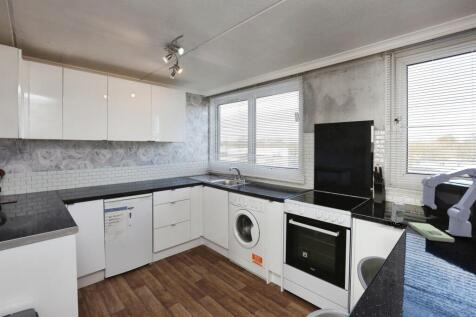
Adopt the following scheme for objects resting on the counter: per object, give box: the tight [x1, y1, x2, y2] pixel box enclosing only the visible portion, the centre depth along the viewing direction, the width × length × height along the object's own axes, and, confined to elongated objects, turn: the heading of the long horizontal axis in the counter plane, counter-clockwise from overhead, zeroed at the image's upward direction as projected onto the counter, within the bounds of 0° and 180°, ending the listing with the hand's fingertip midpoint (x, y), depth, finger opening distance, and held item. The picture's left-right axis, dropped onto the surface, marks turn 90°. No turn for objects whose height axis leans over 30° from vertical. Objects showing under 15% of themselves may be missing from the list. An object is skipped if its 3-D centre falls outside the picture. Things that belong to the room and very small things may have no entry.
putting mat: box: [408, 221, 455, 243], centre depth 142 cm, size 12×26×2 cm, turn 165°
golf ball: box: [431, 229, 440, 235], centre depth 137 cm, size 4×4×4 cm
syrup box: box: [390, 201, 406, 225], centre depth 160 cm, size 6×6×14 cm
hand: (427, 217), depth 145 cm, fingers closed
